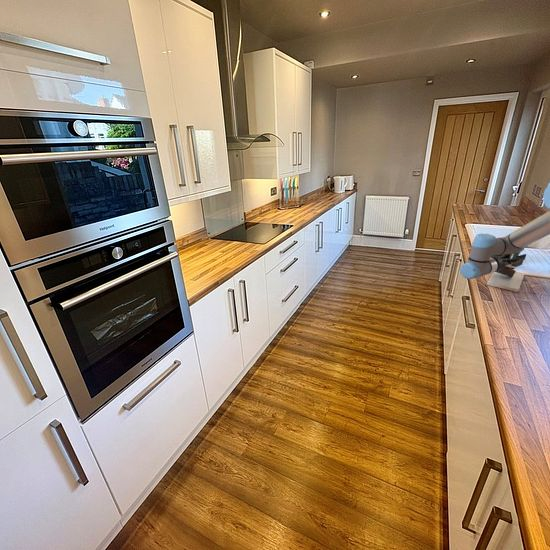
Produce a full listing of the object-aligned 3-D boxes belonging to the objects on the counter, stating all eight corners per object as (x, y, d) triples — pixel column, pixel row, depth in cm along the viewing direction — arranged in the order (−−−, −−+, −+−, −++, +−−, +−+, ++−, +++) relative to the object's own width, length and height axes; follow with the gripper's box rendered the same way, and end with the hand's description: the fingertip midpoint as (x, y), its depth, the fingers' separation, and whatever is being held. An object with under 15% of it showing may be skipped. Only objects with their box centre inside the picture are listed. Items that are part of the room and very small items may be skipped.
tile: (523, 275, 145) (524, 273, 144) (517, 292, 131) (519, 289, 130) (494, 269, 152) (495, 267, 152) (486, 284, 138) (487, 281, 137)
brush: (512, 277, 141) (527, 250, 137) (512, 277, 137) (527, 249, 133) (495, 271, 145) (510, 245, 141) (495, 271, 141) (509, 244, 137)
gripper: (470, 266, 140) (500, 257, 149) (505, 279, 127) (536, 268, 136) (474, 251, 137) (505, 243, 146) (511, 263, 124) (542, 253, 132)
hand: (520, 255), depth 141 cm, fingers closed on brush, 3 cm apart
